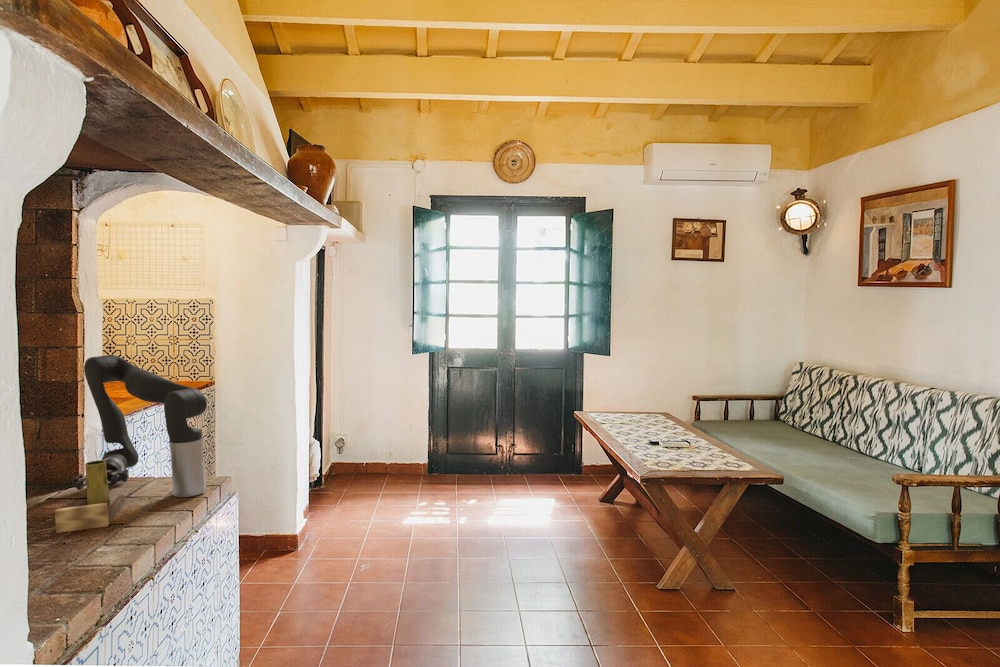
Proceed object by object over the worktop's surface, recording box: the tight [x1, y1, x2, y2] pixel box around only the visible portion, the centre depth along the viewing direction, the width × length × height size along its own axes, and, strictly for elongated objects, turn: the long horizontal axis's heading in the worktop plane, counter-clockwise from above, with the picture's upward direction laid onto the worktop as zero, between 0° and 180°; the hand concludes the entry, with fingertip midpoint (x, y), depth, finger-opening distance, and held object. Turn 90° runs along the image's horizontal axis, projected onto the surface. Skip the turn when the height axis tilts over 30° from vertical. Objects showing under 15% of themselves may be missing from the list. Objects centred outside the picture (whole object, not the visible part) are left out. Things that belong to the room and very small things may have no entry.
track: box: [54, 494, 126, 534], centre depth 186 cm, size 12×22×6 cm, turn 19°
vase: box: [84, 459, 112, 508], centre depth 193 cm, size 6×6×14 cm
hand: (95, 484), depth 191 cm, fingers open, 8 cm apart
